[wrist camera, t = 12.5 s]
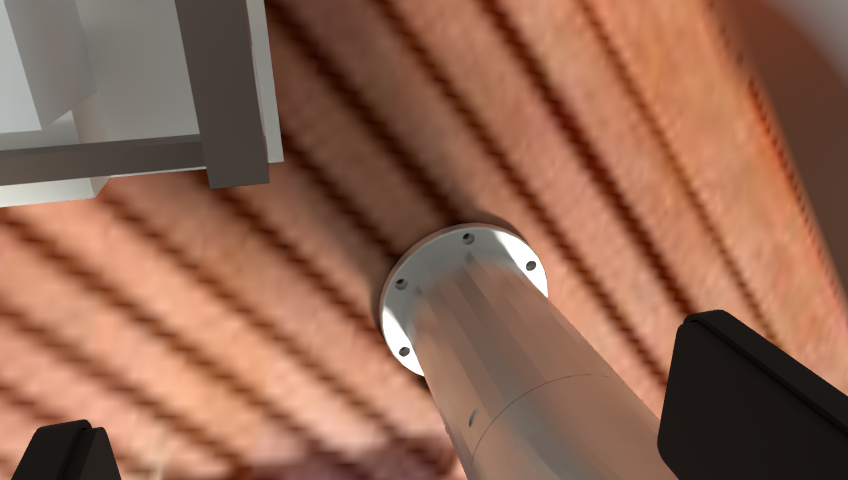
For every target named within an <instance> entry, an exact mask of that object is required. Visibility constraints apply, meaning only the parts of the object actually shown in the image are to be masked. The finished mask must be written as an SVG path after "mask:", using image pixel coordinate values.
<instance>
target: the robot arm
mask: <svg viewBox="0 0 848 480" xmlns="http://www.w3.org/2000/svg"><path fill="white" fill-rule="evenodd" d="M465 234H467V235H466V236H465V237H463V236H464V235H465ZM399 279H401V281H398V280H399ZM547 296H548V289H547V278H546V274H545V270H544V267H543V265H542V263H541V261H540V259H539V257H538V256H537V254H536V253H535V252H534V251H533V250H532V248H531V247H530V246H529V245H528V244H527V243H526V242H525V241H524V240H522V239H521V238H520V237H519V236H517V235H516V234H514V233H512V232H511V231H509V230H507V229H505V228H502V227H499V226H496V225H492V224H484V223H466V224H458V225H454V226H450V227H447V228H443V229H441V230H439V231H437V232H434V233H432V234H430V235H428V236H426V237H425V238H423V239H422V240H420V241H419V242H417V243H416V244H415V245H413V246H412V247H411V248H410V249H409V250H408V251H407V252H406V253H405V254H404V255H403V256H402V257H401V258H400V259H399V260H398V262H397V263H396V265H395V266H394V267H393V269H392V270H391V272H390V274H389V276H388V278H387V280H386V282H385V284H384V286H383V290H382V294H381V298H380V305H379V319H380V325H381V330H382V333H383V335H384V338H385V341H386V343H387V345H388V347H389V349H390V350H391V352H392V354H393V355H394V356H395V357H396V358H397V360H398V361H399V362H400V363H401V364H402V365H404V366H405V367H407V368H408V369H409V370H411V371H412V372H414V373H417V374H419V375H421V376H424V377H425V379H426V382H427V384H428V386H429V389H430V391H431V393H432V396H433V398H434V401H435V403H436V405H437V408H438V410H439V412H440V415H441V417H442V419H443V422H444V424H445V429H446V432H447V433H448V434H449V436H450V438H451V441H452V443H453V445H454V448H455V450H456V453H457V455H458V457H459V460H460V462H461V464H462V467H463V469H464V472H465V474H466V476H467V479H468V480H848V396H846V395H845V394H844V393H842V392H841V391H839V390H838V389H836V388H835V387H834V386H832V385H831V384H829V383H828V382H826V381H825V380H824V379H822V378H821V377H819V376H818V375H816V374H815V373H814V372H812V371H811V370H809V369H808V368H806V367H805V366H804V365H802V364H801V363H799V362H798V361H796V360H795V359H794V358H792V357H791V356H789V355H788V354H786V353H785V352H784V351H782V350H781V349H779V348H778V347H776V346H775V345H774V344H772V343H771V342H769V341H768V340H766V339H765V338H764V337H762V336H761V335H759V334H758V333H757V332H755V331H754V330H752V329H751V328H749V327H748V326H747V325H745V324H744V323H742V322H741V321H739V320H738V319H737V318H735V317H734V316H732V315H731V314H729V313H728V312H726V311H724V310H712V311H706V312H700V313H695V314H691V315H688V316H687V317H686V318H685V320H684V322H683V324H682V325H680V326H679V328H678V330H677V333H676V339H675V344H674V350H673V355H672V361H671V366H670V372H669V377H668V382H667V388H666V393H665V399H664V404H663V410H662V415H661V421H660V420H659V419H658V418H657V417H656V416H655V414H654V413H653V412H652V411H651V410H650V409H649V408H648V407H647V406H646V405H645V404H644V403H643V401H642V400H641V399H640V398H639V397H638V396H637V395H636V394H635V393H634V392H633V391H632V389H631V388H630V387H629V386H628V385H627V384H626V383H625V382H624V381H623V380H622V379H621V377H620V376H619V375H618V374H617V373H616V372H615V371H614V370H613V369H612V368H611V367H610V365H609V364H608V363H607V362H606V361H605V360H604V359H603V358H602V357H601V356H600V355H599V353H598V352H597V351H596V350H595V349H594V348H593V347H592V346H591V345H590V344H589V343H588V341H587V340H586V339H585V338H584V337H583V336H582V335H581V334H580V333H579V332H578V331H577V329H576V328H575V327H574V326H573V325H572V324H571V323H570V322H569V321H568V320H567V319H566V317H565V316H564V315H563V314H562V313H561V312H560V311H559V310H558V309H557V308H556V307H555V305H554V304H553V303H552V302H551V301H550V300H549V299H548V298H547ZM11 480H121V477H120V474H119V470H118V467H117V464H116V461H115V458H114V454H113V451H112V448H111V445H110V442H109V439H108V435H107V433H106V431H105V429H104V428H103V427H98V428H92V426H91V424H90V423H89V422H88V421H87V420H84V419H83V420H77V421H71V422H66V423H60V424H54V425H48V426H43V427H40V428H38V429H37V431H36V432H35V433H34V435H33V437H32V439H31V441H30V443H29V445H28V447H27V449H26V451H25V453H24V455H23V457H22V459H21V461H20V463H19V465H18V467H17V469H16V471H15V473H14V475H13V477H12V479H11Z"/></svg>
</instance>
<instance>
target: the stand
mask: <svg viewBox="0 0 848 480" xmlns="http://www.w3.org/2000/svg"><path fill="white" fill-rule="evenodd" d="M246 2H247V9H248V17H249V24H250V31H251V38H252V45H253V49H254V55H255V61H256V68H257V74H258V81H259V88H260V96H261V103H262V111H263V119H264V127H265V136H266V143H267V151H268V163H275V162H284V158H283V150H282V142H281V134H280V126H279V118H278V110H277V102H276V94H275V86H274V78H273V70H272V62H271V54H270V46H269V38H268V30H267V22H266V14H265V6H264V0H246ZM192 134H200V132H199V127H198V122H197V116H196V111H195V106H194V101H193V95H192V90H191V85H190V79H189V74H188V69H187V64H186V58H185V53H184V48H183V42H182V37H181V32H180V26H179V21H178V16H177V11H176V5H175V0H0V151H2V150H14V149H25V148H37V147H49V146H61V145H73V144H85V143H97V142H109V141H121V140H133V139H145V138H157V137H169V136H180V135H192ZM198 169H206V166H205V167H194V168H184V169H174V170H163V171H153V172H142V173H132V174H121V175H111V176H101V177H90V178H80V179H69V180H59V181H48V182H38V183H28V184H17V185H7V186H0V207H7V206H17V205H27V204H37V203H48V202H58V201H68V200H78V199H88V198H95V197H96V196H97V194H98V193H99V192H100V190H101V189H102V188H103V186H104V185H105V184H106V182H107V181H108V180H109V178H111V177H122V176H133V175H144V174H155V173H166V172H177V171H187V170H198Z"/></svg>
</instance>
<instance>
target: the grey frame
mask: <svg viewBox="0 0 848 480" xmlns="http://www.w3.org/2000/svg"><path fill="white" fill-rule="evenodd" d="M175 5H176V11H177V16H178V21H179V26H180V32H181V37H182V42H183V48H184V53H185V58H186V64H187V69H188V74H189V79H190V85H191V90H192V95H193V101H194V106H195V111H196V116H197V122H198V127H199V132H200V134H192V135H180V136H169V137H157V138H145V139H133V140H121V141H109V142H97V143H85V144H73V145H61V146H49V147H37V148H25V149H14V150H2V151H0V186H7V185H17V184H28V183H38V182H48V181H59V180H69V179H80V178H90V177H101V176H111V175H121V174H132V173H142V172H153V171H163V170H174V169H184V168H194V167H205V166H206V169H207V175H208V180H209V185H210V189H217V188H226V187H236V186H246V185H255V184H265V183H270V181H269V165H268V151H267V143H266V136H265V127H264V119H263V111H262V103H261V96H260V88H259V81H258V74H257V68H256V61H255V55H254V49H253V45H252V38H251V31H250V24H249V17H248V9H247V2H246V0H175Z"/></svg>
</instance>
